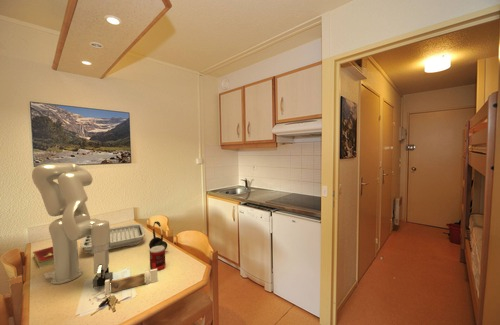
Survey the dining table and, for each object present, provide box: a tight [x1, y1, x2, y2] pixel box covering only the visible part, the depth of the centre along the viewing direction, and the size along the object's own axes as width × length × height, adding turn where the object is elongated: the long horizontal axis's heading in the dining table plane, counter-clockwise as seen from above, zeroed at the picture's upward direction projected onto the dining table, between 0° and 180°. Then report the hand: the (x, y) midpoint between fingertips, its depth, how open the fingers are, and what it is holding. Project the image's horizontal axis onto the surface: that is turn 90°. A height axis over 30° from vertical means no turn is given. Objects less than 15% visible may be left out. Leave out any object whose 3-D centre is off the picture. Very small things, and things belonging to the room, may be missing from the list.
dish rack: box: [79, 223, 146, 256], centre depth 150 cm, size 32×37×8 cm
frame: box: [104, 269, 159, 296], centre depth 101 cm, size 22×2×6 cm, turn 116°
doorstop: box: [92, 271, 114, 289], centre depth 104 cm, size 7×5×4 cm
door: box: [110, 272, 146, 293], centre depth 100 cm, size 14×2×5 cm, turn 116°
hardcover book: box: [32, 246, 54, 269], centre depth 130 cm, size 12×21×4 cm, turn 52°
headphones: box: [148, 221, 168, 251], centre depth 136 cm, size 9×15×20 cm, turn 44°
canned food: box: [149, 246, 166, 272], centre depth 117 cm, size 8×8×11 cm
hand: (103, 280), depth 104 cm, fingers open, 8 cm apart
